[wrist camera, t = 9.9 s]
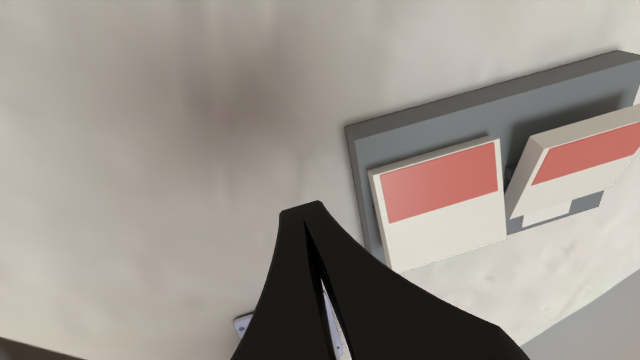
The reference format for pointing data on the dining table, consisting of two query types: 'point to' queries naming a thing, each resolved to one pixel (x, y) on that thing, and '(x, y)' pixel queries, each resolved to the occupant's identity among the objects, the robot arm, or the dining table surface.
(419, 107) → the switch panel
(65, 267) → the dining table surface
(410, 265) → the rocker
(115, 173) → the dining table surface
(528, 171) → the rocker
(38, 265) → the dining table surface
